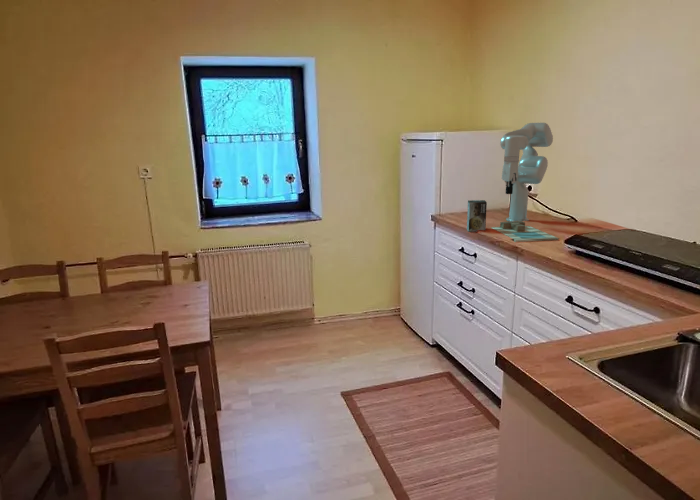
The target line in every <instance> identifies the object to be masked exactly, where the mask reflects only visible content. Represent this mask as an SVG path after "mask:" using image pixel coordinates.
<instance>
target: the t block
mask: <svg viewBox="0 0 700 500" xmlns="http://www.w3.org/2000/svg"><path fill="white" fill-rule="evenodd" d="M525 222H526V221H500V224H499V225H500V226H499V227H500V228H502V229H512V230H514V231H517V232H525V226H526V223H525Z"/></svg>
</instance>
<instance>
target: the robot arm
mask: <svg viewBox="0 0 700 500" xmlns="http://www.w3.org/2000/svg"><path fill="white" fill-rule="evenodd" d="M553 139H554V135H553V132H552V130H551V127H550V125H549V124H548V123H547V122H529V123H527V124H524V126H523V127H521V128H519V129H516V130H512V131H509V132H506V133H505V134H504V135H503V136H502V137H501V139H500V143H499V144H500V148H502V150H504V156H503V157H504V158H503V166H502V173H501V179H502V181H504V183H505V194H506V195H510V204H509V212H508V216H507V217H506V222H514V221H522V222H528V221H529V222H530V219H529V218H528V217H527V215H528V203H529V202H528V200H529V189H528V187H527V186H526V185H527V184H529V185H539V184H540V183H541V182H542V181H543V179H544V176H545V174H546V172H547V170H548V169H547V168H548V165H549V162H548V159H547V157H546V156H543V155H538V151H537V150H536V149H535V148H537V147H538V148H547V147H550V146H552V144H553V141H554V140H553ZM521 151H522V155H521V157H520V152H521Z"/></svg>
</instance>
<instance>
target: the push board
mask: <svg viewBox="0 0 700 500" xmlns="http://www.w3.org/2000/svg"><path fill="white" fill-rule="evenodd" d="M490 229H493V230H495V231H497V232H499V233H501V234H503V235H505V236H506V237H509V238H510V240H511V241H513V242H514V243H524V242H526V243H527V242H546V241H547V242H549V241H550V242H551V241H559V239H560V238H559V237H557V236H554V235H552V234H549V233H547V232H545V231H542V230H540V229H538V228H535V227H532V226H531V225H525V232H517V231H514V230H512V229H502V228H500V226H497V227H496V226H492V227H490Z"/></svg>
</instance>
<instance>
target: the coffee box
mask: <svg viewBox="0 0 700 500" xmlns="http://www.w3.org/2000/svg"><path fill="white" fill-rule="evenodd" d="M487 204H488V202H487V200H483V199H482V200H480V199H475V200H473V199H471V200H468V199H467V213H466V214H467V215H466V217H467V219H466V230H467V232H468V233H469V232H471V233H472V232H473V233H476V232H479V231H487V230H486V229H487V227H486V226H487Z"/></svg>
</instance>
